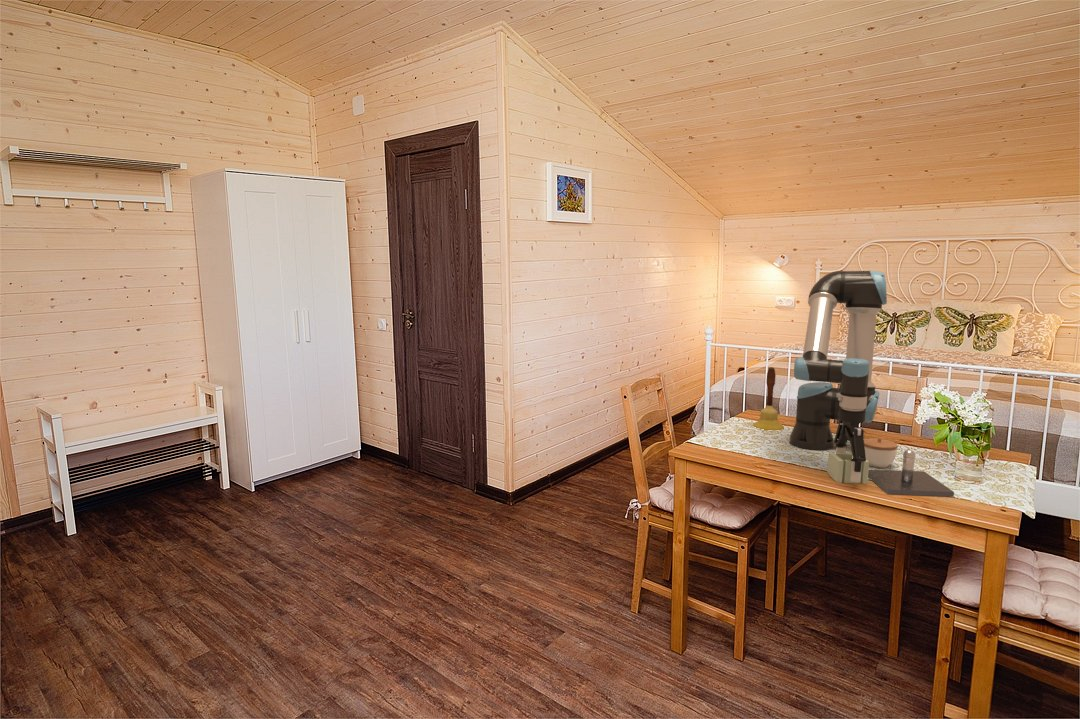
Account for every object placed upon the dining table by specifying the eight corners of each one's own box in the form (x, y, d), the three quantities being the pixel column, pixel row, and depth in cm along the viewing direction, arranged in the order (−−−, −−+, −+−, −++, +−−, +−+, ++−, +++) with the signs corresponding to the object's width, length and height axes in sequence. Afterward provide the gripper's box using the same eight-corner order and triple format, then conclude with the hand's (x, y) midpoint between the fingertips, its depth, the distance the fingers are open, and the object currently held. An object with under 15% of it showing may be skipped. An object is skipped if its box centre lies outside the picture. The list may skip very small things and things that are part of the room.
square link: (827, 472, 200) (828, 452, 199) (856, 473, 199) (858, 453, 198) (836, 482, 191) (838, 460, 190) (867, 483, 190) (869, 461, 189)
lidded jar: (884, 459, 213) (886, 433, 212) (902, 469, 203) (905, 442, 201) (853, 459, 213) (855, 433, 212) (870, 470, 203) (872, 442, 201)
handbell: (748, 423, 262) (750, 365, 258) (776, 422, 263) (779, 365, 259) (760, 431, 250) (763, 370, 246) (789, 430, 250) (793, 370, 246)
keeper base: (864, 473, 199) (866, 440, 197) (923, 475, 197) (926, 442, 195) (887, 494, 181) (891, 458, 180) (953, 496, 179) (957, 460, 177)
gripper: (826, 399, 204) (822, 461, 207) (854, 417, 180) (849, 487, 183) (850, 400, 203) (845, 461, 206) (881, 418, 179) (875, 488, 182)
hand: (847, 474), depth 195 cm, fingers open, 13 cm apart
